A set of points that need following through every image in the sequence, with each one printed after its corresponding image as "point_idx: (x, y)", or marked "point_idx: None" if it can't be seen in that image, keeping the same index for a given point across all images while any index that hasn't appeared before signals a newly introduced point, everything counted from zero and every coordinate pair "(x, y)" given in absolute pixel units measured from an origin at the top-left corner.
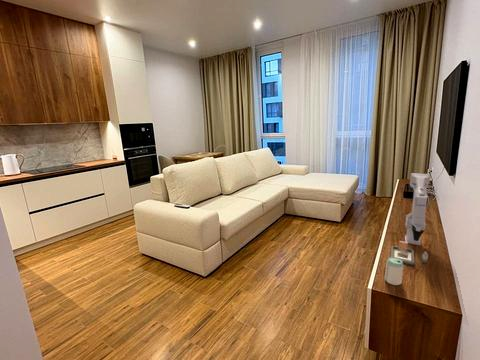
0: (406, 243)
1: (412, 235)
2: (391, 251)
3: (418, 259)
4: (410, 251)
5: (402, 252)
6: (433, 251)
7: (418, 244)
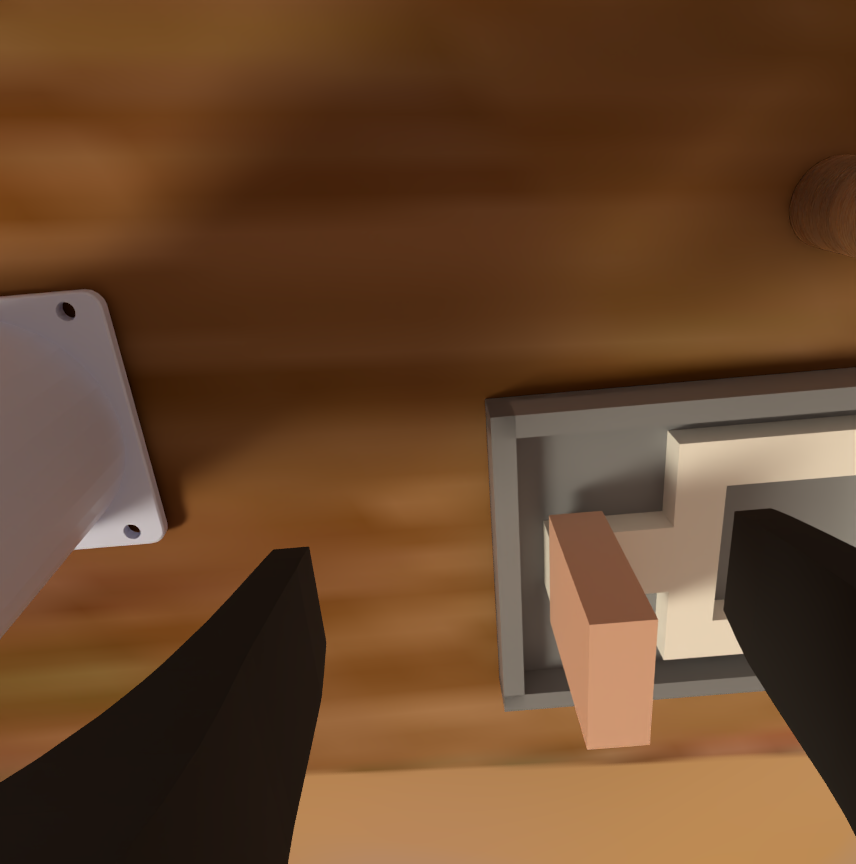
0: (654, 633)
1: (39, 544)
2: (728, 692)
3: (748, 299)
4: (516, 441)
5: (690, 561)
6: (221, 18)
7: (108, 329)
